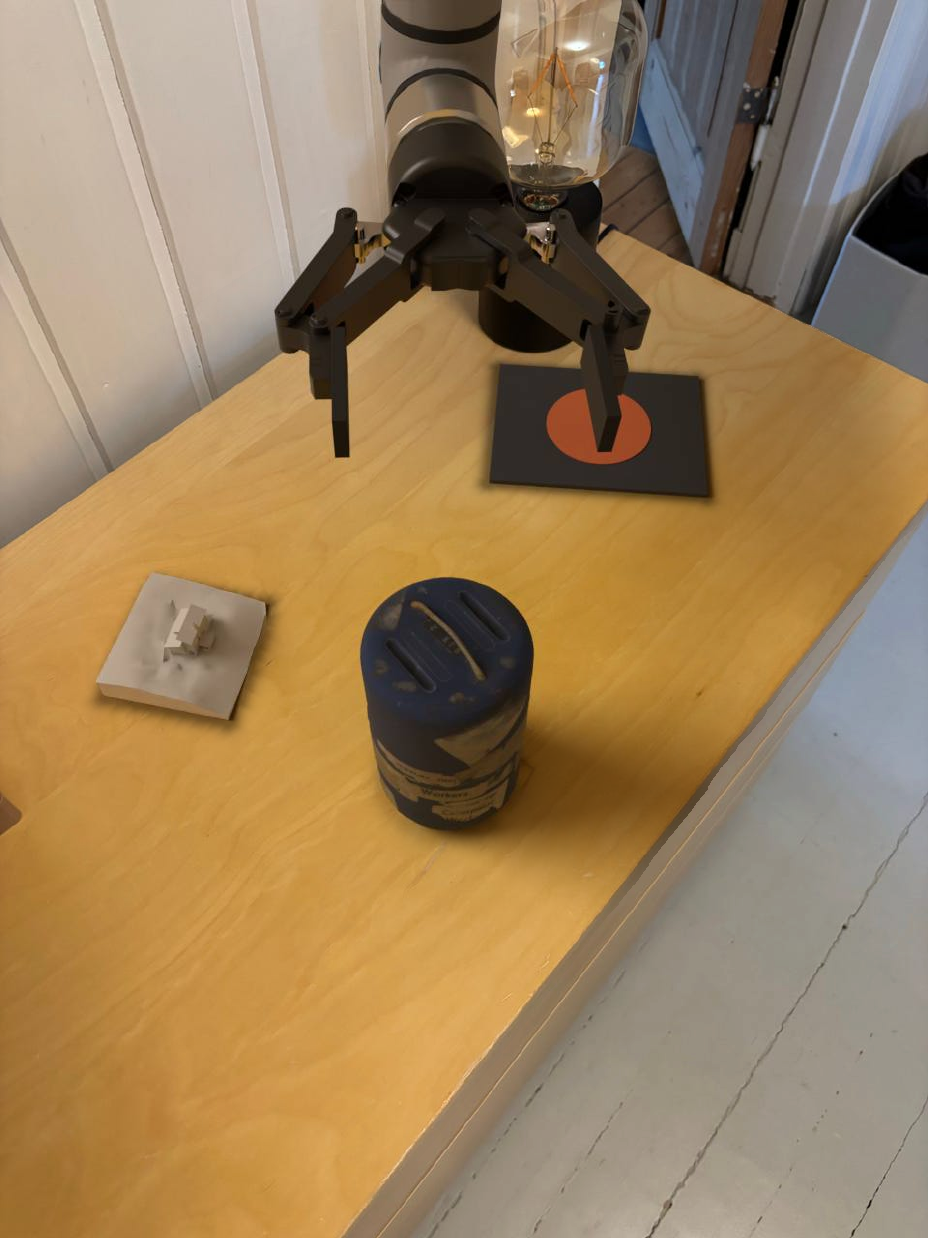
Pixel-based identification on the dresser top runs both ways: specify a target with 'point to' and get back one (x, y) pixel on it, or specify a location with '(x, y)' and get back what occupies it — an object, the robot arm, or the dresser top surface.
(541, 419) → the mat
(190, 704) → the miniature house
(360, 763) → the dresser top surface
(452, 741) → the canister
